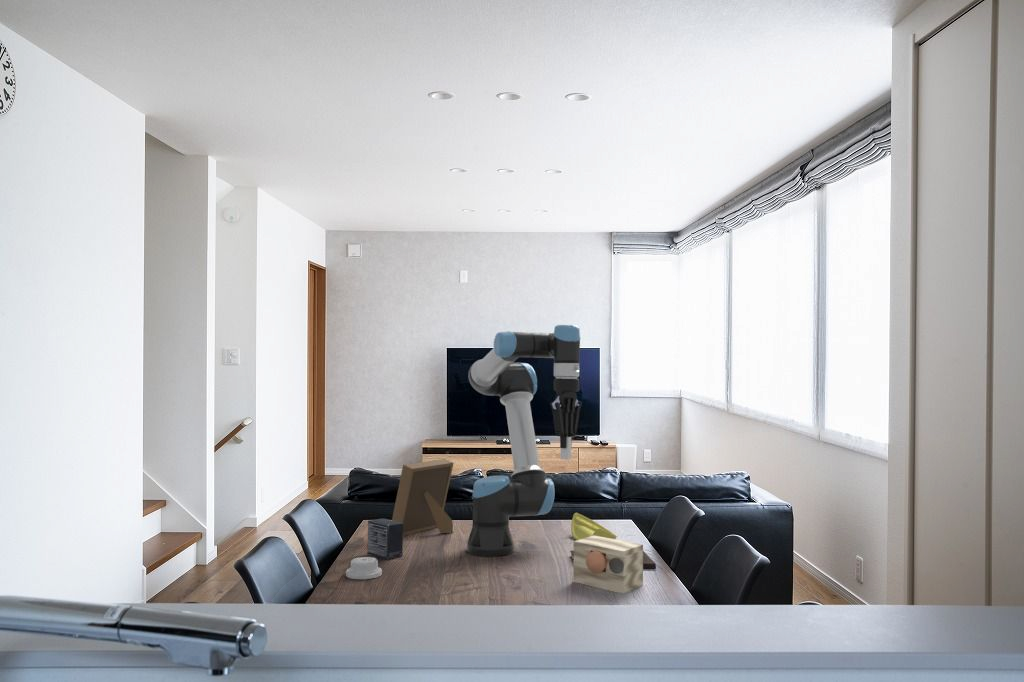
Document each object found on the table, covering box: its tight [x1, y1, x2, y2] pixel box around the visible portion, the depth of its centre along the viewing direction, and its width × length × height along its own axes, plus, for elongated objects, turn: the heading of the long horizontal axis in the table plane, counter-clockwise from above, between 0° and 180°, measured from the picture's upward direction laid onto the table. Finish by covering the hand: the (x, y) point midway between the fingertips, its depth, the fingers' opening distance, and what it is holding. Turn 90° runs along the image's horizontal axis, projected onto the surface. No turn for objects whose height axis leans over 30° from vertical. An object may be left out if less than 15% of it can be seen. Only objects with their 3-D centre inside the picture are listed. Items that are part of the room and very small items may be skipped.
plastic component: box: [570, 512, 618, 541], centre depth 253 cm, size 20×7×10 cm
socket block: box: [572, 535, 644, 595], centre depth 201 cm, size 11×16×11 cm
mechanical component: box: [345, 556, 383, 580], centre depth 207 cm, size 10×4×10 cm
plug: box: [586, 551, 607, 573], centre depth 201 cm, size 12×6×6 cm, turn 140°
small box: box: [366, 517, 404, 560], centre depth 228 cm, size 11×6×10 cm, turn 47°
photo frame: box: [391, 458, 454, 537], centre depth 259 cm, size 15×22×25 cm
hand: (565, 459), depth 213 cm, fingers closed
